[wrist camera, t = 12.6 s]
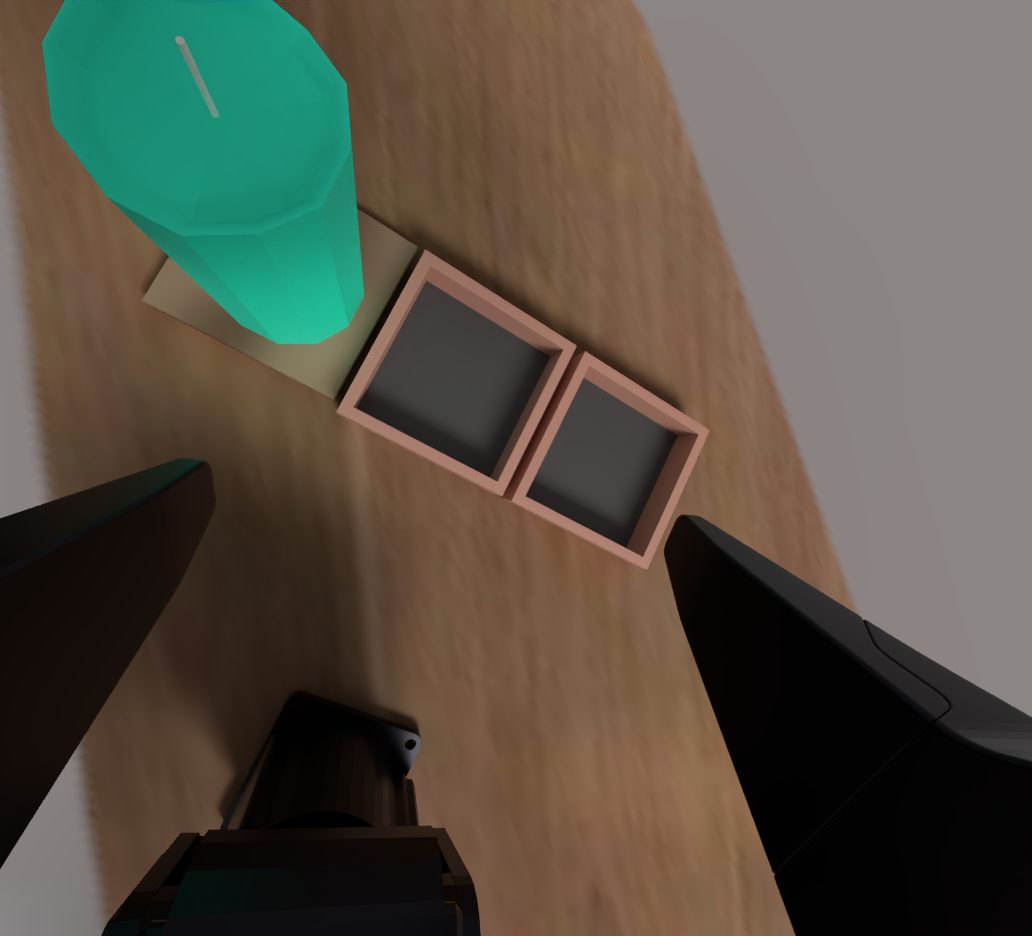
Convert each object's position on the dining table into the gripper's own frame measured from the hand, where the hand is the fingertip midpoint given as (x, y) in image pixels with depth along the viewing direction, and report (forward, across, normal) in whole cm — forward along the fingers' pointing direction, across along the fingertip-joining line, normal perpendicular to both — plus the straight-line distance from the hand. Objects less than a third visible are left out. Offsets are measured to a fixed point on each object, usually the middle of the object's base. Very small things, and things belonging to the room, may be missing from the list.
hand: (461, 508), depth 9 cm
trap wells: (+14, -4, +4) cm, 15 cm away
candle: (+15, +8, -1) cm, 17 cm away
